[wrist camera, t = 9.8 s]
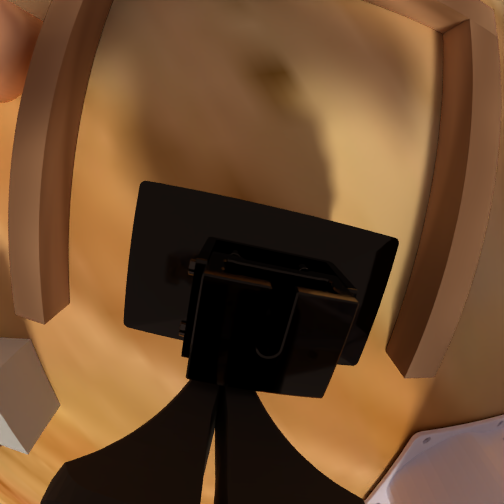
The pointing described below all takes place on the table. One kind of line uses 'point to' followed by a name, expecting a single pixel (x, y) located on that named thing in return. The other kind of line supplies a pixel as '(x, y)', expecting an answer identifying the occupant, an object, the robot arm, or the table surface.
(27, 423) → the light gray block
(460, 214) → the bay
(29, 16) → the pinkish-brown rounded block
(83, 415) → the table surface
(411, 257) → the table surface
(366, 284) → the black boxy piece
